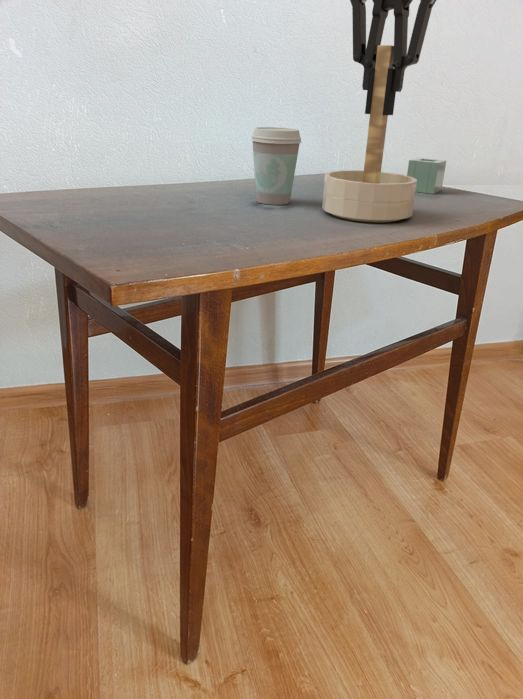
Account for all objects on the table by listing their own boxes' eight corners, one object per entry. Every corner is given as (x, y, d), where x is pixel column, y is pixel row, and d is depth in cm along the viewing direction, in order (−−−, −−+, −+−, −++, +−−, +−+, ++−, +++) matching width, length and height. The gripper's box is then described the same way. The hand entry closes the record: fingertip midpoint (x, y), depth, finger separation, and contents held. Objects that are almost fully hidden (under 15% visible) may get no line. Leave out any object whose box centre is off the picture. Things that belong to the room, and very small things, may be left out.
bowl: (422, 213, 99) (428, 177, 97) (394, 228, 88) (399, 187, 85) (343, 202, 106) (346, 167, 103) (307, 215, 94) (310, 176, 92)
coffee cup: (238, 200, 103) (240, 127, 98) (271, 195, 109) (274, 126, 104) (275, 208, 98) (279, 131, 93) (307, 203, 104) (312, 130, 99)
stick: (378, 195, 98) (396, 46, 89) (373, 197, 96) (391, 45, 87) (365, 193, 99) (382, 46, 90) (360, 195, 97) (377, 45, 88)
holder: (441, 190, 123) (446, 160, 121) (433, 194, 118) (438, 162, 116) (413, 187, 126) (417, 157, 123) (404, 190, 121) (408, 159, 118)
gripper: (339, -69, 83) (324, 111, 93) (447, -77, 76) (419, 118, 86) (359, -58, 89) (343, 110, 99) (461, -65, 82) (433, 117, 92)
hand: (378, 114), depth 92 cm, fingers closed on stick, 2 cm apart
